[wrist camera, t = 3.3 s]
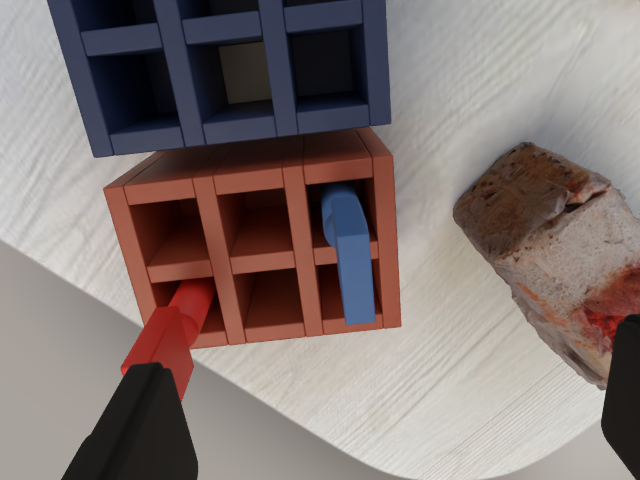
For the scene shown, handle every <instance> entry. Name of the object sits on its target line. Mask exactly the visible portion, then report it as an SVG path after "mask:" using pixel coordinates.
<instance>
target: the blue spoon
mask: <svg viewBox="0 0 640 480" xmlns="http://www.w3.org/2000/svg"><path fill="white" fill-rule="evenodd" d="M319 185H320V196H321V207H322V217H323V228H324V235H325V238H326V240H327V242H328V243H329V244H330V245H331V246H332V247H333V248H335V249H336V256H337V266H338V274H339V281H340V288H341V296H342V303H343V310H344V317H345V324H346V325H354V324H363V323H373V322H375V321H376V320H375V307H374V293H373V279H372V266H371V252H370V239H369V232H368V226H367V222H366V219H365V216H364V213H363V210H362V207H361V205H360V202H359V199H358V196H357V193H356V190H355V187H354V184H353V181H352V180H345V181H336V182H328V183H319Z"/></svg>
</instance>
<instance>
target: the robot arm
mask: <svg viewBox="0 0 640 480" xmlns="http://www.w3.org/2000/svg"><path fill="white" fill-rule="evenodd" d="M601 427H602V431H603V434H604V436H605V438H606V440H607V442H608V443H609V444H610V446H611V447H612V448H613V449H614V451H615V452H616V454H617V455H618V456H619V458H620V459H621V460H622V461H623V463H624V464H625V465H626V467H627V468H628V470H629V471H630V472H631V473H632V475H633V476H634V477H635V479H636V480H640V313H638V314H630V315H627V316H626V317H625V319H624V321H623V322H621V323H619V324H618V325H617V328H616V333H615V339H614V345H613V352H612V358H611V364H610V370H609V376H608V382H607V388H606V394H605V401H604V407H603V413H602V419H601ZM197 476H198V461H197V457H196V453H195V450H194V447H193V443H192V440H191V436H190V432H189V429H188V426H187V422H186V418H185V415H184V412H183V408H182V405H181V401H180V398H179V394H178V391H177V387H176V384H175V380H174V377H173V373H172V371H171V369H170V368H164V367H163V365H162V364H161V363H160V362H152V363H142V364H133V365H131V366H130V367H129V368H128V370H127V372H126V373H125V375H124V377H123V379H122V380H121V382H120V384H119V386H118V387H117V389H116V391H115V393H114V394H113V396H112V398H111V400H110V401H109V403H108V405H107V407H106V409H105V410H104V412H103V414H102V416H101V417H100V419H99V421H98V423H97V424H96V426H95V428H94V430H93V431H92V433H91V435H89V436H88V437H87V438H86V439H85V440H84V442H83V443H82V444H81V446H80V448H79V449H78V451H77V453H76V455H75V456H74V458H73V460H72V462H71V463H70V465H69V467H68V469H67V470H66V472H65V474H64V475H63V477H62V479H61V480H197Z"/></svg>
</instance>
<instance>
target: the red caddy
mask: <svg viewBox="0 0 640 480" xmlns="http://www.w3.org/2000/svg"><path fill="white" fill-rule="evenodd" d="M345 180H352V181H353V184H354V187H355V190H356V193H357V196H358V199H359V202H360V205H361V207H362V210H363V213H364V216H365V219H366V222H367V226H368V232H369V239H370V252H371V266H372V279H373V293H374V307H375V320H376V321H375V322H373V323H363V324H354V325H346V324H345V317H344V310H343V303H342V296H341V288H340V281H339V274H338V266H337V256H336V249H335V248H333V247H332V246H331V245H330V244H329V243H328V242H327V240H326V238H325V235H324V228H323V217H322V207H321V196H320V185H319V183H328V182H336V181H345ZM103 190H104V194H105V197H106V200H107V204H108V207H109V210H110V214H111V217H112V220H113V224H114V227H115V230H116V234H117V237H118V240H119V244H120V247H121V250H122V254H123V257H124V260H125V264H126V267H127V270H128V274H129V277H130V280H131V284H132V287H133V290H134V294H135V297H136V300H137V304H138V307H139V310H140V314H141V317H142V320H143V324H144V327H145V325H146V323H147V321H148V320H149V318H150V316H151V315H152V313H153V311H154V309H155V308H160V307H168V306H169V304H170V302H171V300H172V298H173V296H174V294H175V293H176V291H177V289H178V287H179V285H180V283H181V281H182V280H185V279H194V278H203V277H212V276H213V275H214V280H215V284H216V291H215V294H214V296H213V299H212V302H211V304H210V307H209V310H208V312H207V315H206V318H205V320H204V323H203V326H202V328H201V331H200V334H199V336H198V338H197V340H196V342H195V343H194V344H193V345H192V346H191V347H189V349H198V348H207V347H217V346H226V345H228V344H229V345H238V344H246V343H254V342H264V341H273V340H282V339H291V338H301V337H305V336H306V337H312V336H321V335H330V334H339V333H348V332H358V331H367V330H376V329H383V328H384V329H387V328H396V327H401V308H400V288H399V267H398V247H397V226H396V205H395V185H394V164H393V155H392V154H391V153H390V151H389V150H388V149H387V148H386V146H385V145H384V144H383V143H382V141H381V140H380V139H379V138H378V136H377V135H376V134H375V133H374V132H373V130H372V129H371V128H370V127H364V128H355V129H347V130H338V131H329V132H320V133H312V134H303V135H294V136H286V137H277V138H268V139H260V140H251V141H242V142H234V143H225V144H216V145H207V146H199V147H190V148H181V149H173V150H164V151H157V152H155V153H154V154H152V155H151V156H150V157H148V158H147V159H145V160H144V161H142V162H141V163H139V164H138V165H136V166H135V167H134V168H132V169H131V170H129V171H128V172H126V173H125V174H123V175H122V176H120V177H119V178H118V179H116V180H115V181H113V182H112V183H110V184H109V185H107V186H106V187H104V188H103Z"/></svg>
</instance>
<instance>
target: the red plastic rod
mask: <svg viewBox="0 0 640 480" xmlns="http://www.w3.org/2000/svg"><path fill="white" fill-rule="evenodd" d="M215 291H216V284H215V280H214V275H213V276H212V277H203V278H194V279H185V280H182V281H181V283H180V285H179V287H178V289H177V291H176V293H175V294H174V296H173V298H172V300H171V302H170V304H169V306H168V307H160V308H155V309H154V311H153V313H152V315H151V316H150V318H149V320H148V321H147V323H146V325H145V327H144V328H143V330H142V332H141V333H140V335H139V337H138V339H137V340H136V342H135V344H134V345H133V347H132V349H131V351H130V352H129V354H128V356H127V357H126V359H125V361H124V363H123V364H122V366H121V372H122V375H123V377H124V375H125V373H126V372H127V370H128V368H129V367H130V366H131V365H133V364H142V363H152V362H160V363H161V364H162V365H163V367H164V368H170V369H171V371H172V373H173V377H174V380H175V384H176V387H177V391H178V394H179V398H180V401H181V402H182V399H183V396H184V393H185V390H186V388H187V385H188V382H189V379H190V376H191V374H192V371H193V368H194V365H193V361H192V357H191V354H190V350H189V347H191V346H192V345H193V344H194V343H195V342H196V340H197V338H198V336H199V334H200V331H201V328H202V326H203V323H204V320H205V318H206V315H207V312H208V310H209V307H210V304H211V302H212V299H213V296H214V294H215Z"/></svg>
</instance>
